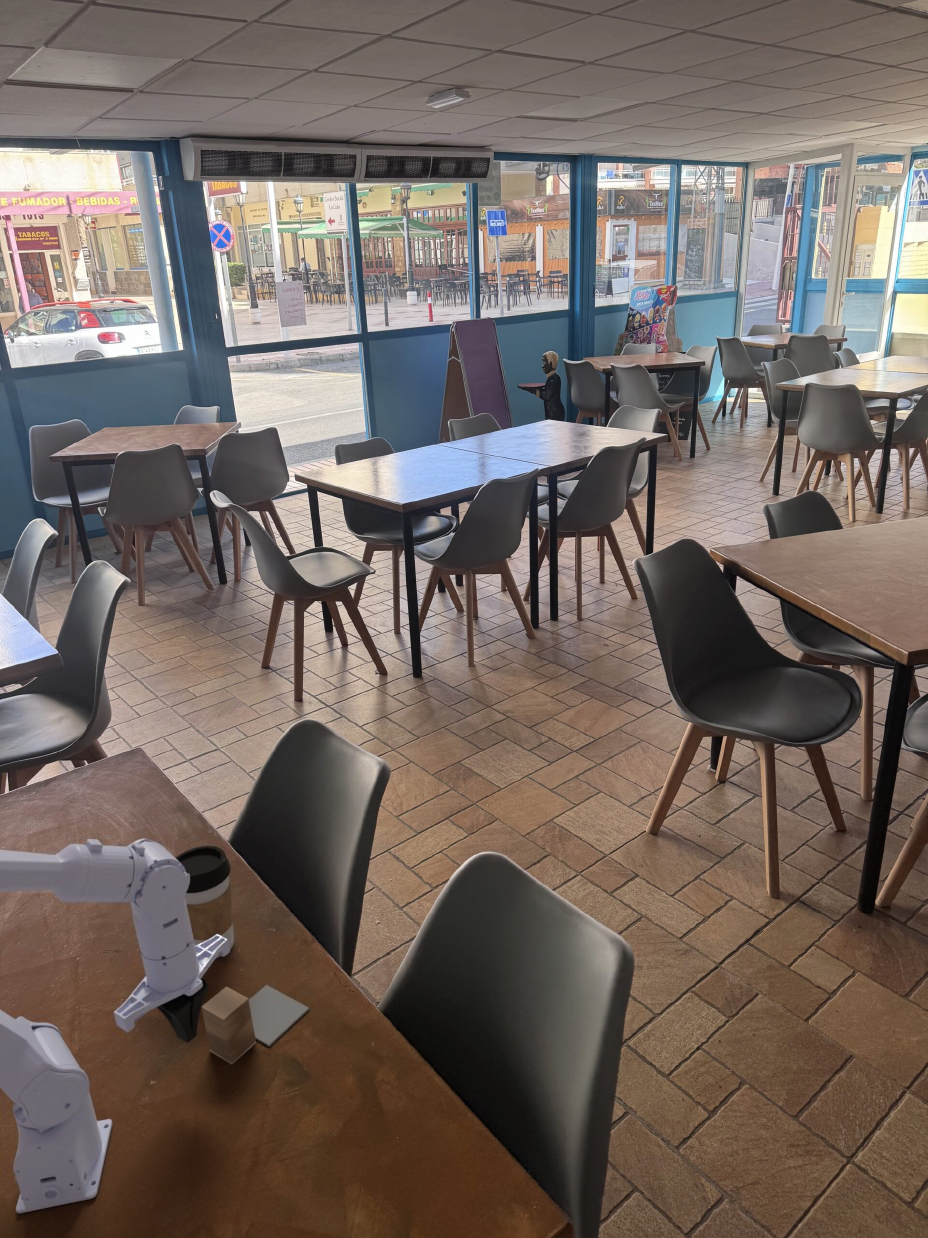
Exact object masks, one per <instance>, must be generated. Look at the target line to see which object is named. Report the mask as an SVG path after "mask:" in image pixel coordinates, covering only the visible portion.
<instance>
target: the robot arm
mask: <svg viewBox="0 0 928 1238" xmlns="http://www.w3.org/2000/svg"><path fill="white" fill-rule="evenodd" d="M85 840H86V841H85V842H84V843H85V844H83V843H82V844H81V843H71V844H68V845H66V846H65V847H64V848H63V849H61V850H60V851H58V852H57V853H56V854H49V853H39V852H38V853H37V852H31V851H30V852H29V851H28V852H27V851H17V850H8V849H7V850H6V849H0V893H10V892H14V893H15V892H31V891H32V892H33V891H52V892H53V894H54V895H55V896H56V898H57V899H58V900H59V901H60V902H63V903H128V902H129V903H130V908H131V911H132V920H133V925H134V929H135V933H136V939H137V942H138V946H139V951H140V954H141V960H142V964H143V968H144V973H145V976H144V978H143V979H141V981H140V983H139V984H138V985H137V986H136V988H135V989H134V990H133V991H132V992H131V994H130V995H129V997H127V999H125V1001H124V1002H123V1003H122V1004H121V1005H120V1006H119V1007H117V1009H115V1010H114V1011H113V1016H114V1020H115V1023H116V1026H117V1027H119V1028H120V1029H121V1030H123V1031H125V1032H126V1033H129V1032H130V1031H132V1030H133V1029H134V1028H135V1027H136V1023H135V1022H137V1021H138V1020H139V1019H140V1018H142V1017H143V1016H144V1015H146V1014H147V1013H148V1012H149V1011H151V1010H153V1009H157V1010H158V1011H159V1012H160V1013H161V1014H162V1015H163V1016H164V1018H165V1019H166V1020H167V1021H168V1023H169V1024H170V1026H171V1028H172V1029H173V1031H174V1033H175V1035H176V1037H177V1038H178V1039H180V1040H181V1041H183V1042H185V1043H186V1044H189V1043H190V1042H191V1041H193V1040H194V1039H195V1038H196V1037H197V1035H198V1025H199V1017H200V1012H201V1010H202V1006H203V1002H204V999H205V997H206V995H207V993H208V991H209V986H208V985H209V984H208V981H207V980H206V979H204V978H203V976H205V974H206V972H207V971H208V969H209V968H210V967H211V965H212V964H213V963H214V961H215V960H216V959H217V957H218V956H220V957H225V956H227V955H229V953H231V949H229V943H228V939H226V938H224V937H222V936H220V935H218V934H216V935H215V936H213V937H212V938H210V939H208V940H207V941H205V942H203V943H200V944H198V945H196V946H195V944H194V939H193V934H192V929H191V924H190V919H189V914H188V909H187V904H186V901H185V897H184V896H185V893H186V892H187V889H188V887H189V883H190V874H187V873H186V871H185V868H184V866H183V865H182V864H181V863H180V862H179V861H178V860H177V859H176V856H174V855H173V854H172V853H171V852H170V851H168V850H167V848H166V847H164V846H163V844H160V843H159V842H157V841H155V840H151V839H148V838H139V839H137V840H135V841H133V842H131V843H129V844H128V845H126V846H120V845H105V844H104V845H103V844H102V843H101V841H100V840H99V839H97V838H95V839H94V838H93V839H92V838H87V839H85ZM218 958H219V957H218ZM0 1089H1V1090H2V1091H3V1092H4V1093H5V1095H7V1097H8V1098H9V1099H10V1100H11V1101H12V1102H13V1106H12V1112H13V1116H14V1119H15V1122H16V1126H17V1132H18V1142H17V1143H18V1145H17V1150H16V1153H15V1156H14V1160H13V1174H14V1177H15V1179H16V1182H17V1186H18V1189H19V1192H20V1193H19V1196H18V1200H17V1203H16V1206H15V1211H16V1213H17V1214H24V1213H27V1212H28V1213H29V1212H33V1211H38V1210H43V1209H46V1208H52V1207H57V1206H61V1205H66V1204H67V1205H68V1204H70V1203H71V1204H72V1203H76V1202H81V1201H86V1200H91V1199H94V1198H95V1197H96V1196H97V1194H98V1191H99V1186H100V1181H101V1177H102V1171H103V1168H104V1163H105V1160H106V1159H105V1158H106V1154H107V1149H108V1145H109V1140H110V1136H111V1132H112V1127H113V1121H112V1119H111V1118H108V1119H102V1120H97V1116H96V1111H95V1107H94V1103H93V1101H92V1097H91V1093H90V1079H89V1076H88V1074H87V1073H86V1072H85V1071H84V1070H83V1069H82V1068H81V1066H80V1064H79V1063H78V1061H77V1060H76V1058H75V1057H74V1056H73V1054H72V1052H71V1050H70V1049H69V1048H68V1046H67V1044H66V1042H65V1041H64V1039H63V1034H62V1033H61V1030H60V1029H59V1028H58V1027H57V1026H56V1025H54V1024H52V1023H49V1022H34V1021H31V1020H28V1019H27V1018H25V1017H24V1016H18V1017H17V1018H14V1017H12V1016H11V1015H9V1014H8V1013H6V1012H5V1011H3V1010H1V1009H0Z"/></svg>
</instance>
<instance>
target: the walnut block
mask: <svg viewBox="0 0 928 1238" xmlns="http://www.w3.org/2000/svg"><path fill="white" fill-rule="evenodd" d="M249 999H250V998H248V997H246V996H244V995H243V994H241V993H239V992H238V991H236V990H234V989H232V988H231V987H228V986H225V987H224V988H223V989H221V990H220V991H219V992H218V993H217V994H215V995H214V996H213V997H211V998H210V999H209V1000H208V1001H207V1002H205V1003H204V1004H202V1005H201V1013H202V1016H203V1022H204V1027H205V1032H206V1036H207V1041H208V1046H209V1047H208V1048H209V1051H210V1052H211V1053H212V1054H214V1055H215V1056H217V1057H219V1058H221V1059H222V1060H224V1061H225V1062H227V1063H229V1064H230V1065H234V1063H236V1061H238V1059H240V1058H241V1057H242V1056H243V1055H244V1054H246V1052H247V1051H248V1050H250V1049H251V1048H252V1047H253V1046H254V1045H255V1044H256V1043H257V1041H256V1040H257V1039H255V1033H254V1028H253V1022H252V1016H251V1010H250V1005H249Z"/></svg>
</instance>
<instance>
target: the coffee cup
mask: <svg viewBox="0 0 928 1238" xmlns="http://www.w3.org/2000/svg"><path fill="white" fill-rule="evenodd" d="M175 858H176V859H177V860H178V861H179V862H180V863H181V864H182V865H183V866H184V868H185V871H186V873H187V874H190V883H189V887H188V889H187V892H186V893H185V896H184V897H185V901H186V904H187V909H188V914H189V919H190V924H191V929H192V934H193V939H194V944H195V946H196V945H198V944H200V943H203V942H205V941H207V940H208V939H210V938H212V937H213V936H215V935H216V934H218V935H220V936H222V937H224V938H226V939H228V943H229V949H230V950H231V949H232V948H233V946H234V944H235V935H234V934H235V933H234V925H233V924H234V923H233V922H234V921H233V920H234V919H233V917H234V916H233V902H232V887H231V885H232V883H231V879H230V877H229V875H230V873H231V869H232V868H231V865H230V861H229V859H228V857H227V855H226V852H225V851H224V850H223V849H222V848H221V847H218V846H215V845H202V846H198V847H193V848H190V849H188V850H186V851H184V852H182V853H180V854H178V855H176V856H175ZM217 958H221V956H218V957H217ZM217 958H216V959H217Z"/></svg>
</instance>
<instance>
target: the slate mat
mask: <svg viewBox="0 0 928 1238" xmlns="http://www.w3.org/2000/svg"><path fill="white" fill-rule="evenodd" d="M248 999H249V1005H250V1010H251V1016H252V1022H253V1028H254V1033H255V1039H256V1040H257V1041H258V1042H260V1043H262V1044H263V1045H265V1046H267V1047H269V1048H270V1047H271V1046H272V1045H273V1044H274V1043H275V1042H276V1041H277V1040H279V1038H280V1037H282V1036H283V1035H284V1034H285V1033H286V1032H287V1031H288V1030H289V1029H291V1027H293V1025H295V1024H296V1022H298V1021H299V1019H300V1020H301V1018H302V1017H303V1016H304V1015H305V1014H307V1012H308V1011H310V1008H309V1006H306V1005H304V1004H303V1003H301V1002H299V1001H297V1000H296V999H293V998H292V997H290V996H288V995H286V994H284V993H282V992H280V991H279V990H277V989H276V988H275V989H274V988H273V987H271V986H269V985H268V984H266V985H265V986H264V987H262V988H261V989H259V991H258V992H256V993H255V994H254V995H253V996H251V997H250V998H248Z"/></svg>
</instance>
